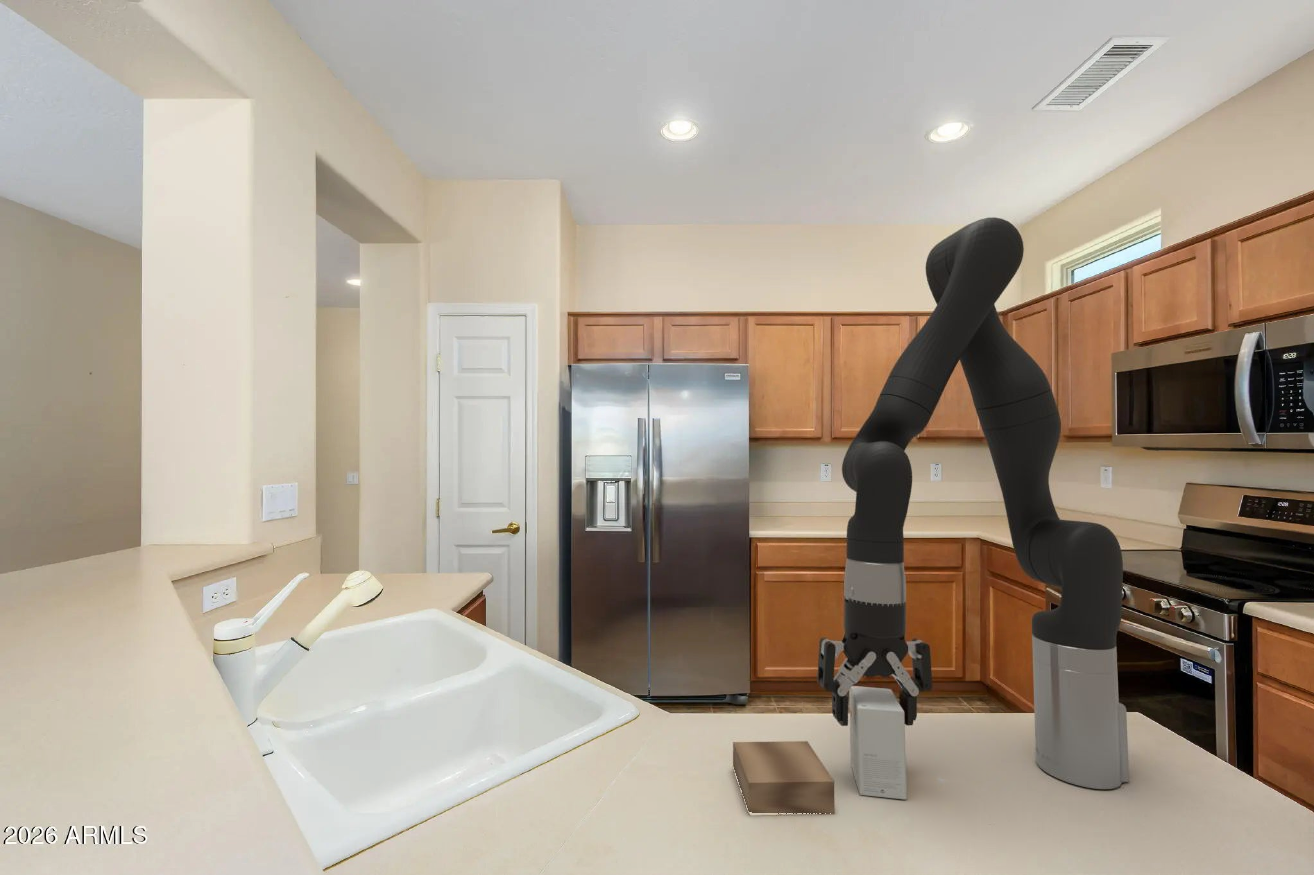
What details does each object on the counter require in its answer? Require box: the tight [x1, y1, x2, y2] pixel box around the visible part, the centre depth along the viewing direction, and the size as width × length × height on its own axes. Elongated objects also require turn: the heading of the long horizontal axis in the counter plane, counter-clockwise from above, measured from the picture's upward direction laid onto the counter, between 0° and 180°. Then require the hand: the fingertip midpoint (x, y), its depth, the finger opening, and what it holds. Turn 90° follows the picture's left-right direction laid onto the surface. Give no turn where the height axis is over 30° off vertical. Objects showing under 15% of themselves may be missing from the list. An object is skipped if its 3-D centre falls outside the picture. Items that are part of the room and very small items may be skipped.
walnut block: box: [732, 740, 836, 815], centre depth 71 cm, size 10×10×4 cm
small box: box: [848, 685, 907, 800], centre depth 73 cm, size 8×6×10 cm
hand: (874, 723), depth 73 cm, fingers open, 8 cm apart
